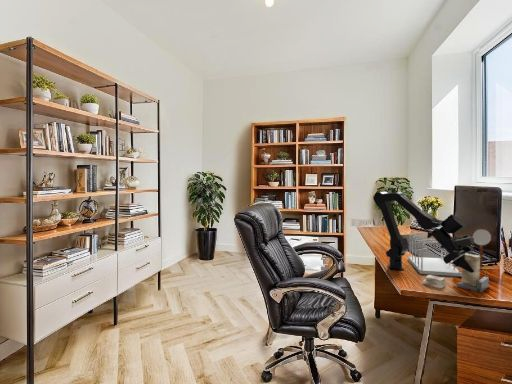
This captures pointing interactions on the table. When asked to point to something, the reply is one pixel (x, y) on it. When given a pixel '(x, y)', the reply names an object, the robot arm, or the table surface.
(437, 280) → the offcut stack
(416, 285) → the table surface
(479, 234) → the magnifying glass
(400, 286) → the table surface
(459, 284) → the rack
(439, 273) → the file sorter
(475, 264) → the cream upright block
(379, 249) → the table surface
